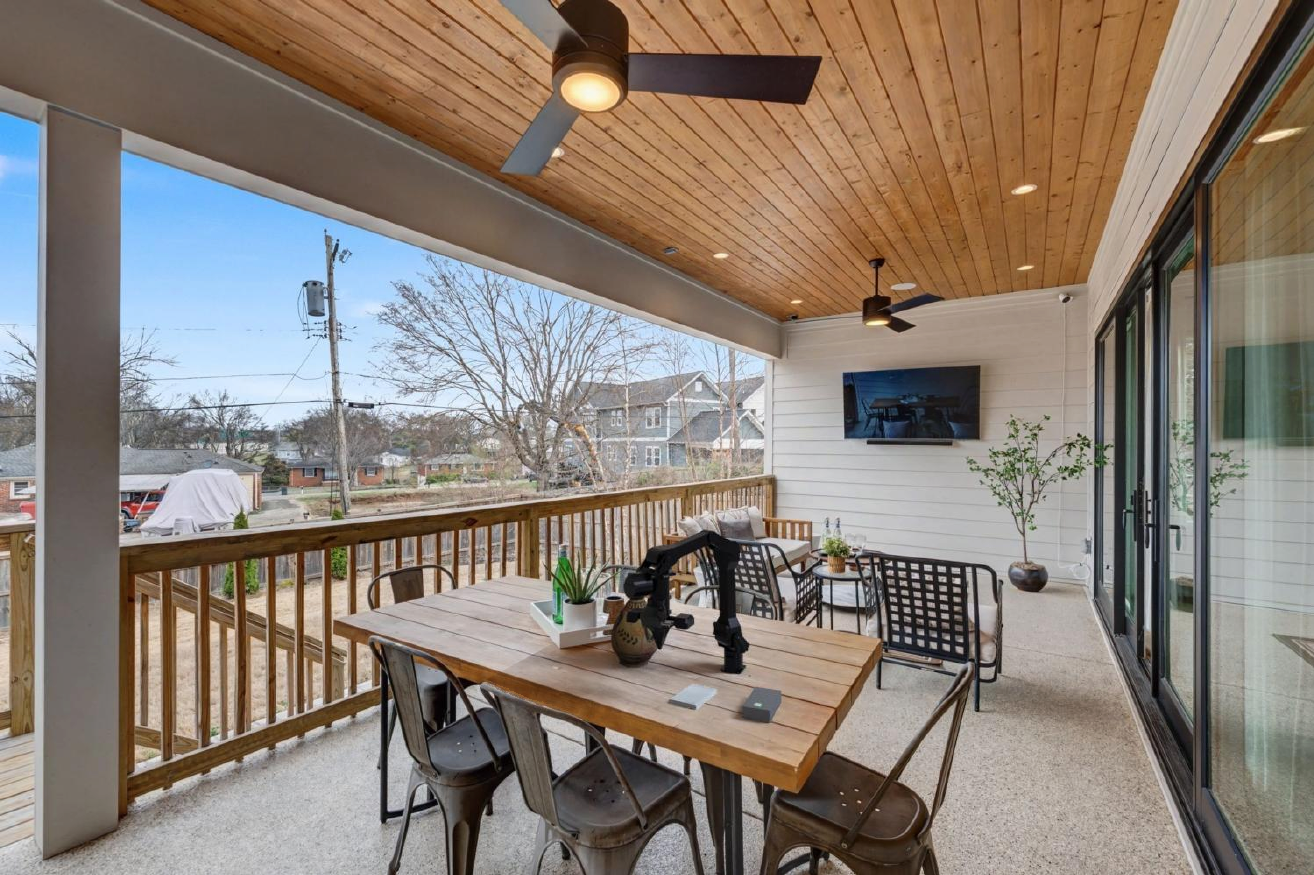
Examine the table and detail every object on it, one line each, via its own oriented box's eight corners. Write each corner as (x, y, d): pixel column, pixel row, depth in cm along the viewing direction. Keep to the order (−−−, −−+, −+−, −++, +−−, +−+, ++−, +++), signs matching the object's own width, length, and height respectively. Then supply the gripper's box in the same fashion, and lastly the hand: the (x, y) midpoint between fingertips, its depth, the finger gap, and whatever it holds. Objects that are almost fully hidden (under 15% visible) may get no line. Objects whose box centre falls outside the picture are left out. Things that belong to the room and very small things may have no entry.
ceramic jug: (649, 674, 177) (649, 574, 177) (603, 668, 182) (602, 570, 183) (668, 655, 193) (668, 563, 193) (625, 650, 198) (624, 560, 199)
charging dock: (750, 696, 161) (750, 685, 161) (781, 702, 157) (781, 690, 157) (736, 716, 149) (736, 704, 149) (770, 723, 145) (769, 710, 145)
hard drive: (696, 705, 153) (717, 688, 164) (669, 698, 157) (691, 682, 168) (696, 712, 153) (717, 694, 164) (669, 705, 157) (691, 688, 168)
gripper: (616, 596, 161) (616, 653, 161) (679, 603, 154) (680, 663, 154) (634, 587, 172) (634, 641, 171) (694, 593, 164) (695, 650, 164)
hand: (659, 649), depth 165 cm, fingers closed
